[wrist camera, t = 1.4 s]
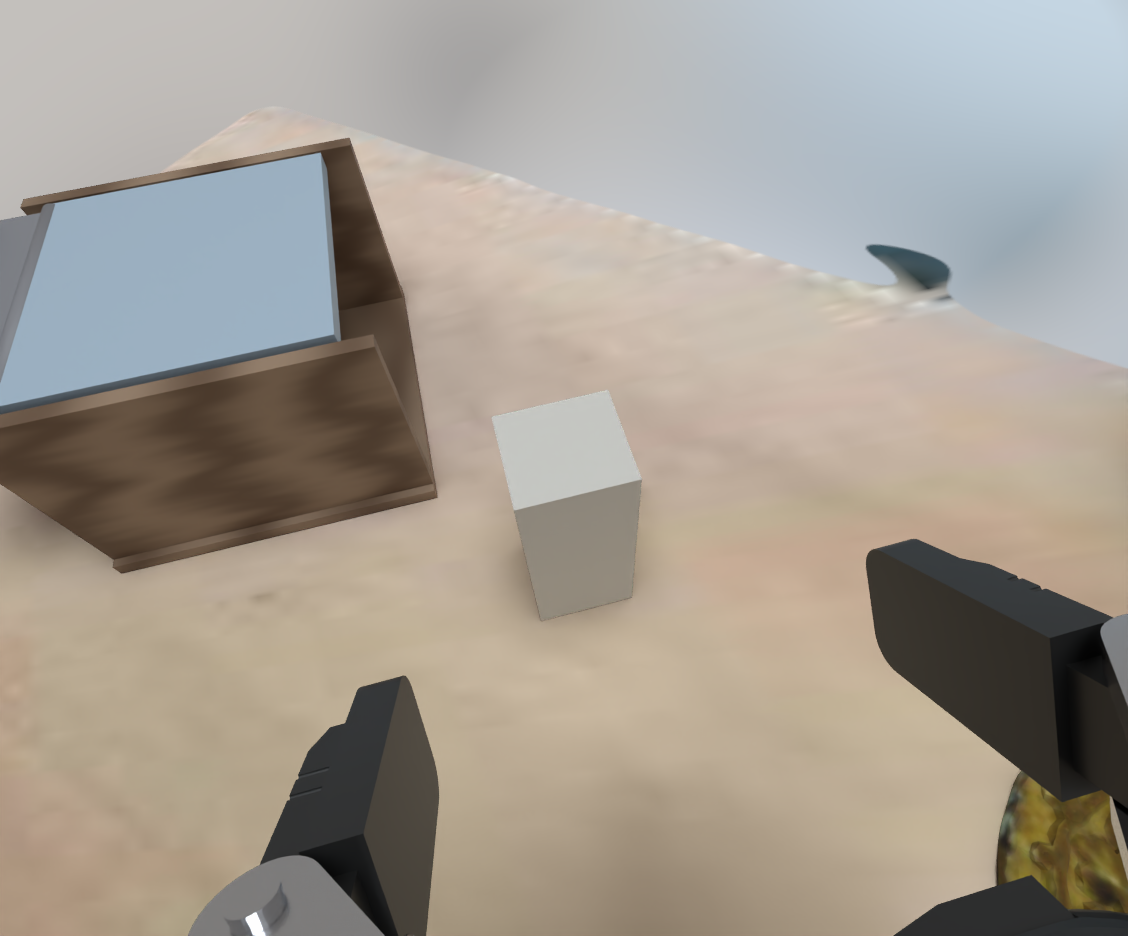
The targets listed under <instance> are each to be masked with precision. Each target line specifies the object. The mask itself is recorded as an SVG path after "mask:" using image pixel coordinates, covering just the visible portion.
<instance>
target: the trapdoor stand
mask: <svg viewBox="0 0 1128 936" xmlns="http://www.w3.org/2000/svg"><path fill="white" fill-rule="evenodd" d="M316 153H321V155H322V157H323V160H324V163H325V165H326V168H327V175H328V188H329V200H330V212H331V224H332V237H333V249H334V261H335V274H336V286H337V298H338V310H339V323H340V335H341V341H339V342H334V343H329V344H325V345H320V346H315V347H311V348H306V349H302V350H297V351H292V352H288V353H283V354H278V355H274V356H269V357H264V358H260V359H255V360H251V361H246V362H241V363H237V364H232V365H227V366H223V367H218V368H214V369H209V370H204V371H200V372H195V373H190V374H186V375H181V376H177V377H172V378H167V379H163V380H158V381H153V382H149V383H144V384H140V385H135V386H130V387H126V388H121V389H116V390H112V391H107V392H102V393H98V394H93V395H89V396H84V397H79V398H75V399H70V400H65V401H61V402H56V403H52V404H47V405H42V406H38V407H33V408H28V409H24V410H19V411H15V412H10V413H5V414H1V415H0V484H1V485H3V486H4V487H6V488H7V489H9V490H10V491H12V492H13V493H15V494H16V495H18V496H19V497H21V498H22V499H24V500H25V501H27V502H28V503H30V504H31V505H33V506H34V507H36V508H37V509H39V510H40V511H42V512H43V513H45V514H46V515H48V516H49V517H51V518H52V519H54V520H55V521H57V522H58V523H60V524H61V525H63V526H64V527H66V528H67V529H69V530H70V531H72V532H73V533H75V534H76V535H78V536H79V537H81V538H82V539H84V540H85V541H87V542H88V543H90V544H91V545H93V546H94V547H96V548H97V549H99V550H100V551H102V552H103V553H105V554H106V555H108V556H109V557H111V558H112V559H114V562H113V568H114V569H116V570H117V571H119V572H120V573H125V572H129V571H133V570H137V569H142V568H146V567H150V566H154V565H158V564H162V563H167V562H171V561H175V560H179V559H183V558H187V557H191V556H196V555H200V554H204V553H208V552H212V551H216V550H221V549H225V548H229V547H233V546H237V545H241V544H246V543H250V542H254V541H258V540H262V539H266V538H271V537H275V536H279V535H283V534H287V533H291V532H296V531H300V530H304V529H308V528H312V527H316V526H320V525H325V524H329V523H333V522H337V521H341V520H345V519H350V518H354V517H358V516H362V515H366V514H370V513H375V512H379V511H383V510H387V509H391V508H395V507H400V506H404V505H408V504H412V503H416V502H420V501H425V500H429V499H433V498H437V492H436V486H435V480H434V474H433V468H432V462H431V456H430V450H429V444H428V438H427V432H426V426H425V419H424V413H423V407H422V401H421V395H420V389H419V383H418V377H417V371H416V365H415V359H414V353H413V347H412V341H411V335H410V329H409V323H408V317H407V311H406V304H405V298H404V293H403V290H402V287H401V286H400V284H399V281H398V278H397V275H396V272H395V269H394V266H393V263H392V261H391V258H390V255H389V252H388V249H387V246H386V243H385V240H384V237H383V234H382V231H381V228H380V225H379V223H378V220H377V217H376V214H375V211H374V208H373V205H372V202H371V199H370V196H369V193H368V190H367V187H366V185H365V182H364V179H363V176H362V173H361V170H360V167H359V164H358V161H357V158H356V155H355V152H354V150H353V147H352V144H351V141H350V138H345V139H340V140H335V141H329V142H324V143H319V144H313V145H308V146H303V147H297V148H292V149H287V150H282V151H276V152H271V153H266V154H260V155H255V156H250V157H244V158H239V159H234V160H229V161H223V162H218V163H213V164H207V165H202V166H197V167H191V168H186V169H181V170H176V171H170V172H165V173H160V174H154V175H149V176H144V177H139V178H133V179H129V180H123V181H117V182H112V183H107V184H102V185H96V186H91V187H86V188H80V189H76V190H70V191H64V192H59V193H54V194H49V195H43V196H38V197H33V198H28V199H23V202H22V204H21V209H22V210H23V211H24V212H25V213H26V215H32V214H37V213H41V210H42V207H43V206H44V205H45V204H49V203H52V204H53V203H59V202H64V201H69V200H74V199H80V198H85V197H90V196H95V195H101V194H106V193H111V192H116V191H122V190H127V189H132V188H137V187H143V186H148V185H153V184H159V183H164V182H169V181H174V180H180V179H185V178H190V177H195V176H201V175H206V174H211V173H216V172H222V171H227V170H232V169H237V168H243V167H248V166H253V165H258V164H264V163H269V162H274V161H280V160H285V159H290V158H295V157H301V156H306V155H311V154H316Z"/></svg>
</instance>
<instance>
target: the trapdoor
mask: <svg viewBox="0 0 1128 936" xmlns="http://www.w3.org/2000/svg"><path fill="white" fill-rule="evenodd" d="M339 341H341V335H340V323H339V310H338V298H337V286H336V274H335V261H334V249H333V237H332V224H331V212H330V200H329V188H328V175H327V168H326V165H325V163H324V160H323V157H322V155H321V153H316V154H311V155H306V156H301V157H295V158H290V159H285V160H280V161H274V162H269V163H264V164H258V165H253V166H248V167H243V168H237V169H232V170H227V171H222V172H216V173H211V174H206V175H201V176H195V177H190V178H185V179H180V180H174V181H169V182H164V183H159V184H153V185H148V186H143V187H137V188H132V189H127V190H122V191H116V192H111V193H106V194H101V195H95V196H90V197H85V198H80V199H74V200H69V201H64V202H59V203H53V204H52V203H49V204H45V205H44V206H43V207H42V210H41V213H37V214H32V215H27V216H21V217H16V218H11V219H6V220H1V221H0V415H1V414H5V413H10V412H15V411H19V410H24V409H28V408H33V407H38V406H42V405H47V404H52V403H56V402H61V401H65V400H70V399H75V398H79V397H84V396H89V395H93V394H98V393H102V392H107V391H112V390H116V389H121V388H126V387H130V386H135V385H140V384H144V383H149V382H153V381H158V380H163V379H167V378H172V377H177V376H181V375H186V374H190V373H195V372H200V371H204V370H209V369H214V368H218V367H223V366H227V365H232V364H237V363H241V362H246V361H251V360H255V359H260V358H264V357H269V356H274V355H278V354H283V353H288V352H292V351H297V350H302V349H306V348H311V347H315V346H320V345H325V344H329V343H334V342H339Z"/></svg>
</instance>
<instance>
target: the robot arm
mask: <svg viewBox="0 0 1128 936" xmlns="http://www.w3.org/2000/svg"><path fill="white" fill-rule="evenodd" d="M866 570H867V577H868V584H869V592H870V599H871V606H872V613H873V621H874V628H875V635H876V639H877V642H878V645H879V648H880V650H881V652H882V654H883V656H884V658H885V659H886V661H887V662H888V664H889V665H890V666H891V667H892V668H893V669H894V670H895V671H896V672H897V673H898V674H900V675H901V676H902V677H903V678H905V679H906V680H907V681H909V682H910V683H911V684H912V685H914V686H915V687H916V688H917V689H919V690H920V691H921V692H922V693H924V694H925V695H926V696H928V697H929V698H930V699H931V700H933V701H934V702H935V703H936V704H938V705H939V706H940V707H942V708H943V709H944V710H945V711H947V712H948V713H949V714H950V715H952V716H953V717H954V718H955V719H957V720H958V721H959V722H961V723H962V724H963V725H964V726H966V727H967V728H968V729H969V730H971V731H972V732H973V733H975V734H976V735H977V736H978V737H980V738H981V739H982V740H983V741H985V742H986V743H987V744H989V745H990V746H991V747H992V748H994V749H995V750H996V751H997V752H999V753H1000V754H1001V755H1002V756H1004V757H1005V758H1006V759H1008V760H1009V761H1010V762H1011V763H1013V764H1014V765H1015V766H1016V767H1018V768H1019V769H1020V770H1022V771H1023V772H1024V773H1025V774H1027V775H1028V776H1029V777H1030V778H1032V779H1033V780H1034V781H1035V782H1037V783H1038V784H1039V785H1041V786H1042V787H1043V788H1044V789H1046V790H1047V791H1048V792H1049V793H1051V794H1052V795H1053V796H1055V797H1056V798H1057V799H1058V800H1060V801H1061V802H1065V801H1068V800H1071V799H1074V798H1078V797H1081V796H1084V795H1087V794H1090V793H1094V792H1097V791H1100V790H1103V791H1104V792H1105V793H1107V794H1108V795H1110V812H1111V822H1112V826H1113V829H1114V833H1115V836H1116V840H1117V844H1118V847H1119V851H1120V854H1121V858H1122V862H1123V865H1124V869H1125V872H1126V876H1127V880H1128V614H1125V615H1121V616H1117V617H1115V618H1113V617H1111V616H1108V615H1106V614H1104V613H1101V612H1099V611H1097V610H1095V609H1092V608H1090V607H1088V606H1085V605H1083V604H1081V603H1078V602H1076V601H1074V600H1071V599H1069V598H1067V597H1064V596H1062V595H1060V594H1057V593H1055V592H1053V591H1050V590H1048V589H1043V590H1042V589H1041V588H1040V586H1039V585H1036V584H1034V583H1032V582H1030V581H1027V580H1025V579H1023V578H1022V579H1018V578H1017V576H1016V575H1013V574H1011V573H1009V572H1006V571H1004V570H1002V569H999V568H997V567H995V566H992V565H990V564H986V563H981V562H976V561H971V560H966V559H961V558H958V557H956V556H954V555H951V554H949V553H947V552H945V551H942V550H940V549H938V548H936V547H933V546H931V545H929V544H927V543H924V542H922V541H920V540H917V539H910V540H907V541H903V542H899V543H896V544H892V545H888V546H885V547H881V548H877V549H873V550H871V551H870V552H869V553H868V555H867V559H866ZM298 776H299V779H298V780H296V781H295V784H294V786H293V788H292V791H291V793H290V795H289V796H290V800H288V801H287V802H286V805H285V807H284V809H283V812H282V814H281V816H280V819H279V821H278V823H277V826H276V828H275V830H274V833H273V835H272V837H271V840H270V842H269V844H268V847H267V849H266V851H265V854H264V856H263V858H262V861H261V863H260V865H259V866H257V867H255V868H253V869H251V870H249V871H248V872H246V873H244V874H243V875H241V876H240V877H238V878H237V879H235V880H234V881H233V882H231V883H230V884H229V885H227V886H226V887H225V888H224V889H223V890H222V891H220V892H219V893H218V894H217V895H216V896H215V897H214V898H213V899H212V900H211V901H210V902H209V903H208V904H207V906H206V907H205V908H204V909H203V911H202V912H201V913H200V914H199V916H198V917H197V919H196V921H195V922H194V924H193V925H192V928H191V930H190V932H189V934H188V936H426V929H427V919H428V909H429V898H430V888H431V877H432V867H433V856H434V846H435V836H436V825H437V815H438V804H439V786H438V777H437V771H436V766H435V762H434V758H433V754H432V751H431V748H430V745H429V741H428V738H427V735H426V732H425V728H424V725H423V722H422V719H421V715H420V712H419V709H418V706H417V702H416V699H415V696H414V693H413V690H412V687H411V684H410V682H409V680H408V678H407V677H406V676H400V677H397V678H393V679H389V680H386V681H382V682H378V683H375V684H371V685H367V686H364V687H360V688H359V689H358V690H357V692H356V695H355V698H354V701H353V703H352V706H351V709H350V712H349V714H348V717H347V720H346V723H345V724H341V725H337V726H334V727H330V728H329V729H328V730H327V732H326V733H325V734H324V735H323V736H322V737H321V738H320V739H319V740H318V741H317V742H316V744H315V745H314V746H313V747H312V748H311V749H310V750H309V751H308V754H307V756H306V758H305V761H304V763H303V765H302V768H301V770H300V772H299V774H298ZM894 936H1128V913H1121V912H1114V911H1106V910H1088V909H1066V908H1065V907H1064V906H1063V905H1062V904H1061V903H1060V902H1059V901H1058V900H1057V899H1056V898H1055V897H1054V896H1053V895H1052V894H1051V893H1050V892H1049V891H1048V890H1047V889H1046V888H1045V887H1044V886H1042V885H1041V884H1040V883H1039V882H1038V881H1037V880H1036V879H1035V878H1034V877H1033V876H1032V875H1030V876H1026V877H1023V878H1020V879H1017V880H1014V881H1011V882H1007V883H1004V884H1001V885H998V886H995V887H992V888H989V889H985V890H982V891H979V892H976V893H973V894H970V895H967V896H963V897H960V898H957V899H954V900H951V901H948V902H945V903H941V904H938V905H936V906H935V907H934V908H932V909H931V910H929V911H928V912H926V913H925V914H924V915H922V916H921V917H919V918H918V919H916V920H915V921H914V922H912V923H911V924H909V925H908V926H906V927H905V928H904V929H902V930H901V931H899V932H898V933H896V934H895V935H894Z"/></svg>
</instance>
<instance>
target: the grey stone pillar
mask: <svg viewBox="0 0 1128 936" xmlns="http://www.w3.org/2000/svg"><path fill="white" fill-rule="evenodd" d="M492 421H493V425H494V429H495V433H496V438H497V442H498V446H499V450H500V454H501V458H502V463H503V467H504V471H505V475H506V479H507V484H508V488H509V492H510V496H511V500H512V505H513V509H514V513H515V517H516V521H517V525H518V529H519V533H520V537H521V541H522V545H523V549H524V554H525V558H526V562H527V566H528V570H529V574H530V578H531V582H532V586H533V590H534V594H535V598H536V602H537V606H538V611H539V615H540V619H541V621H544V620H548V619H552V618H556V617H559V616H563V615H567V614H571V613H575V612H579V611H582V610H586V609H590V608H594V607H598V606H602V605H605V604H609V603H613V602H617V601H621V600H625V599H628V598H632V588H633V577H634V565H635V553H636V541H637V530H638V518H639V506H640V494H641V483H642V478H641V476H640V473H639V470H638V468H637V465H636V463H635V460H634V457H633V455H632V452H631V449H630V447H629V444H628V441H627V439H626V436H625V433H624V431H623V428H622V425H621V423H620V420H619V417H618V415H617V412H616V409H615V407H614V404H613V401H612V399H611V396H610V394H609V391H608V390H605V391H601V392H597V393H592V394H588V395H584V396H579V397H575V398H571V399H566V400H562V401H558V402H553V403H549V404H545V405H540V406H536V407H532V408H527V409H523V410H519V411H514V412H510V413H506V414H501V415H497V416H493V417H492Z"/></svg>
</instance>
